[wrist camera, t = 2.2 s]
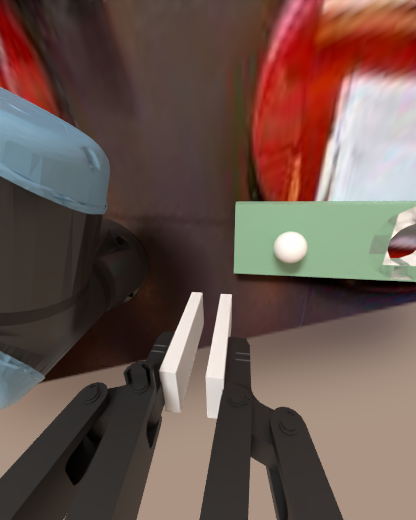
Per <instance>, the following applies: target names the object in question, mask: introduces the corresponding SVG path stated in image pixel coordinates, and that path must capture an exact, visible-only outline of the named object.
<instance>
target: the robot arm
mask: <svg viewBox="0 0 416 520" xmlns="http://www.w3.org/2000/svg"><path fill="white" fill-rule="evenodd" d="M109 176H110V165H109V161H108V158H107V156H106V154H105V153H104V151H103V150H102V149H101V147H100V146H99V145H98V144H97V143H96V142H95V141H94V140H92V139H91V138H90V137H88V136H87V135H86V134H84V133H83V132H81V131H80V130H78V129H77V128H75V127H73V126H72V125H70V124H68V123H67V122H65V121H63V120H62V119H60V118H58V117H56V116H55V115H53V114H51V113H49V112H47V111H46V110H44V109H42V108H40V107H38V106H36V105H35V104H33V103H31V102H29V101H27V100H25V99H23V98H21V97H19V96H17V95H15V94H13V93H11V92H9V91H7V90H5V89H3V88H1V87H0V409H3V408H7V407H9V406H11V405H13V404H15V403H16V402H18V401H19V400H20V399H21V398H22V397H23V396H24V395H25V394H26V393H28V392H29V391H30V390H31V389H32V388H33V387H34V386H35V385H36V384H37V383H39V382H41V381H43V380H44V378H45V375H46V374H47V373H48V372H49V371H50V370H51V369H52V368H53V367H54V366H55V365H56V364H57V363H58V362H59V361H60V359H61V358H62V357H63V356H64V355H65V354H66V353H67V352H68V351H69V350H70V349H71V348H72V347H73V346H74V345H75V344H76V343H77V341H78V340H79V339H80V338H81V337H82V336H83V335H84V334H85V333H86V332H87V331H88V330H89V329H90V328H91V327H92V326H93V325H94V324H95V322H96V321H97V320H98V319H99V318H100V317H101V316H102V315H103V314H104V313H105V312H106V311H108V310H110V309H112V308H114V307H116V306H119V305H121V304H123V303H125V302H127V301H129V300H130V299H132V298H133V297H134V296H136V295H137V293H138V292H139V291H140V290H141V289H142V287H143V286H144V285H145V283H146V281H147V278H148V272H149V265H148V259H147V256H146V253H145V251H144V249H143V247H142V245H141V243H140V242H139V241H138V239H137V238H136V237H135V236H134V235H133V234H132V233H131V232H130V231H129V230H128V229H126V228H125V227H124V226H122V225H120V224H118V223H116V222H114V221H111V220H108V219H103V214H104V213H105V212H106V210H107V208H108V204H107V201H106V198H107V191H108V184H109ZM231 310H232V295H230V294H221V297H220V302H219V308H218V313H217V319H216V324H215V329H214V335H213V340H212V346H211V351H210V357H209V362H208V368H207V373H206V394H207V416H208V417H209V418H216V419H217V422H216V428H215V434H214V440H213V445H212V451H211V458H210V463H209V469H208V474H207V480H206V486H205V491H204V497H203V503H202V508H201V515H200V520H248V506H249V505H248V504H249V479H250V457H252V458H254V459H255V460H257V461H259V462H260V463H262V464H264V465H265V466H266V469H267V474H268V479H269V484H270V489H271V493H272V498H273V503H274V508H275V513H276V518H277V520H343V518H342V515H341V512H340V510H339V508H338V505H337V502H336V500H335V497H334V495H333V492H332V490H331V487H330V485H329V482H328V480H327V477H326V475H325V472H324V469H323V467H322V465H321V462H320V459H319V457H318V455H317V452H316V449H315V447H314V444H313V442H312V439H311V437H310V434H309V432H308V429H307V427H306V424H305V422H304V421H303V419H302V417H301V416H300V415H299V414H298V413H297V412H296V411H294V410H292V409H290V408H286V407H279V408H276V409H275V410H273V409H271V408H269V407H267V406H265V405H263V404H262V403H260V402H259V401H258V400H257V399H256V398H255V396H254V395H253V393H252V390H251V374H250V345H249V343H248V342H247V340H246V338H236V337H230V334H231ZM203 324H204V318H203V293H198V292H192V294H191V296H190V298H189V301H188V303H187V306H186V308H185V310H184V313H183V315H182V318H181V320H180V322H179V325H178V327H177V329H176V332H165V331H164V332H163V333H162V334H161V335H160V336H159V337H158V338H157V340H156V342H155V344H154V346H153V347H152V349H151V352H150V353H149V355H148V357H147V359H146V361H140V362H136V363H133V364H131V365H130V366H129V367H128V368H127V369H126V370H125V372H124V376H125V380H126V385H124V386H120V387H115V388H109V389H107V386H106V385H105V384H104V383H99V382H97V383H93V384H90V385H88V386H86V387H85V388H84V389H83V390H81V391H80V392H79V393H78V394H77V396H76V397H75V398H74V399H73V400H72V401H71V402H70V403H69V404H68V405H67V407H66V408H65V409H64V410H63V411H62V412H61V413H60V414H59V415H58V416H57V417H56V418H55V420H54V421H53V422H52V423H51V424H50V425H49V426H48V427H47V428H46V429H45V430H44V431H43V433H42V434H41V435H40V436H39V437H38V438H37V439H36V440H35V441H34V442H33V444H32V445H31V446H30V447H29V448H28V449H27V450H26V451H25V452H24V453H23V454H22V455H21V457H20V458H19V459H18V460H17V461H16V462H15V463H14V464H13V465H12V466H11V468H10V469H9V470H8V471H7V472H6V473H5V474H4V475H3V476H2V477H1V478H0V520H63V519H64V518H65V520H136V519H137V515H138V511H139V507H140V504H141V500H142V496H143V492H144V488H145V484H146V480H147V477H148V472H149V469H150V465H151V461H152V457H153V453H154V450H155V446H156V442H157V438H158V434H159V430H160V427H161V421H162V417H161V413H162V410H163V406H164V405H165V411H169V412H176V413H181V409H182V404H183V401H184V398H185V393H186V390H187V386H188V382H189V378H190V374H191V371H192V367H193V363H194V359H195V355H196V351H197V347H198V344H199V340H200V336H201V332H202V328H203ZM65 516H66V517H65Z"/></svg>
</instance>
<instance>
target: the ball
mask: <svg viewBox="0 0 416 520" xmlns="http://www.w3.org/2000/svg"><path fill="white" fill-rule="evenodd" d="M307 248H308V246H307V242H306V240H305V238H304V237H303V236H302V235H301V234H299V233H297V232H292V231H290V232H285V233H283V234H281V235H279V236H278V237H277V239H276V240H275V242H274V247H273V249H274V253H275V255H276V257H277V258H278V259H279V260H281V261H282V262H285V263H296V262H298V261H300V260H301V259H302V258H303V257H304V256H305V255H306V253H307Z"/></svg>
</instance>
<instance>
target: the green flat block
mask: <svg viewBox="0 0 416 520" xmlns="http://www.w3.org/2000/svg"><path fill="white" fill-rule="evenodd" d="M413 224H416V201H305V202H236V212H235V250H234V273H240V274H261V275H282V276H303V277H325V278H346V279H367V280H388V281H409V282H416V251H414V252H413V253H412V254H410V255H407V256H405V257H402V258H390V257H389V255H388V252H387V249H388V246H389V243H390V240H391V238H392V237H394V236H395V235H396V234H397V233H398V232H399V231H400V230H401V229H403V228H405V227H408V226H410V225H413ZM290 231H292V232H297V233H299V234H301V235H302V236H303V237H304V238H305V240H306V242H307V246H308V248H307V253H306V255H305V256H304V257H303V258H302V259H301V260H300V261H298V262H296V263H285V262H282V261H281V260H279V259H278V258H277V257H276V255H275V253H274V249H273V247H274V242H275V240H276V239H277V237H278V236H279V235H281V234H283V233H285V232H290Z"/></svg>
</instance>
